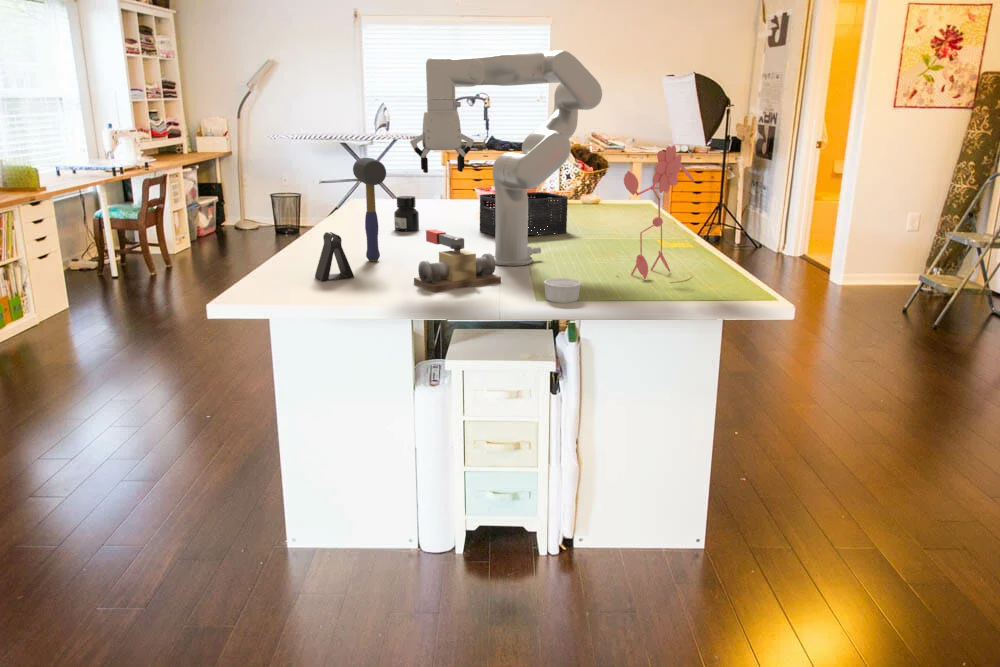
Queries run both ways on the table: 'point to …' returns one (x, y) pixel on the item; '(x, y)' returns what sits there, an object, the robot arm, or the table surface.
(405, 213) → the ink bottle
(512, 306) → the table surface
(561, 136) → the robot arm
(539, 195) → the storage bin
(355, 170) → the rubber mallet
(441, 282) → the valve manifold
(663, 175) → the figurine
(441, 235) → the lever
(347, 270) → the phone stand
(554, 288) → the ramekin
